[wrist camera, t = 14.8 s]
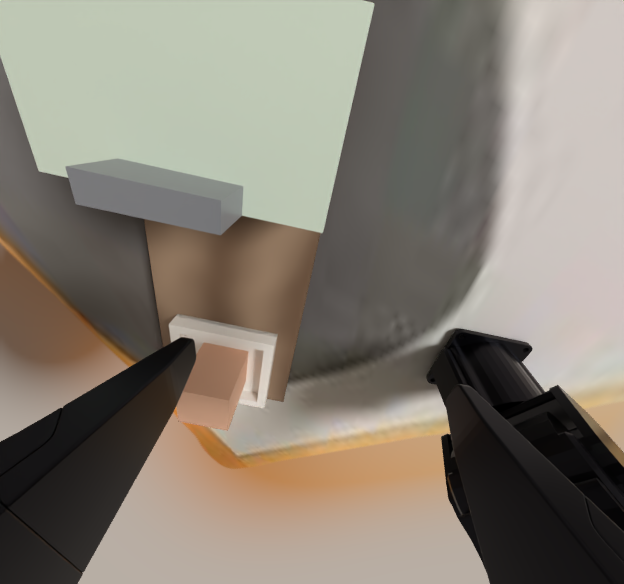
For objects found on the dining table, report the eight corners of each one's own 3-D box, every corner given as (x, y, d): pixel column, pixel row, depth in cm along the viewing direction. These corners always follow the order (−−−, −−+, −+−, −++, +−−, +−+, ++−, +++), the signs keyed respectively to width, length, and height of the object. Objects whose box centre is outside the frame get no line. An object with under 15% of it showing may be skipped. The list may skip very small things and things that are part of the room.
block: (248, 351, 24) (228, 400, 19) (246, 380, 26) (227, 430, 22) (203, 342, 23) (174, 389, 19) (205, 372, 26) (178, 421, 21)
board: (362, 38, 13) (364, 31, 12) (285, 392, 29) (283, 401, 28) (124, -19, 13) (106, -31, 12) (174, 370, 28) (168, 379, 27)
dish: (277, 334, 23) (274, 345, 22) (267, 396, 27) (264, 408, 26) (177, 313, 23) (168, 324, 21) (184, 379, 27) (177, 391, 26)
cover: (360, 51, 13) (387, -41, 6) (327, 199, 16) (319, 256, 9) (108, -9, 12) (-204, -190, 5) (133, 156, 16) (-29, 181, 9)
